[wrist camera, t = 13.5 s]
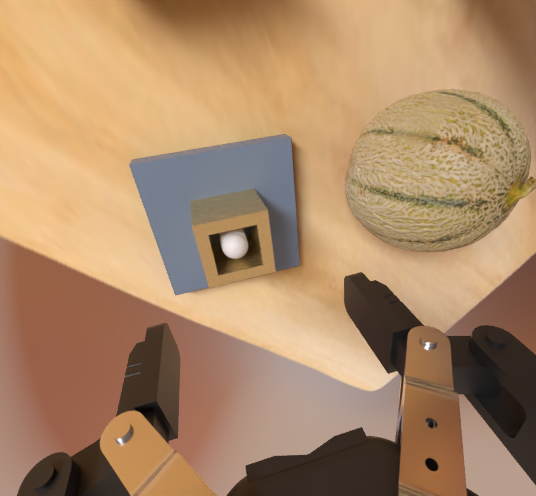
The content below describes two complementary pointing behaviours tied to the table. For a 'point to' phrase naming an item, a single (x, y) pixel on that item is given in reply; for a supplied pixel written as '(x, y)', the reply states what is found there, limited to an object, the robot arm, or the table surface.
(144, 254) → the table surface
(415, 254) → the table surface
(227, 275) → the brass collar
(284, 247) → the post stand
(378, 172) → the cantaloupe
